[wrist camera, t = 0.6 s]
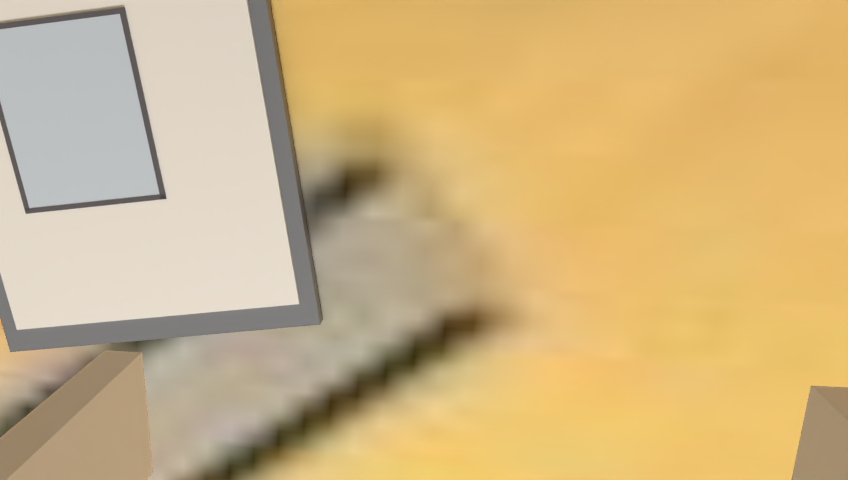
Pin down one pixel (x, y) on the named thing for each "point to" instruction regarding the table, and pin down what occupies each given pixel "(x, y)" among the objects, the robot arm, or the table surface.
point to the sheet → (147, 174)
